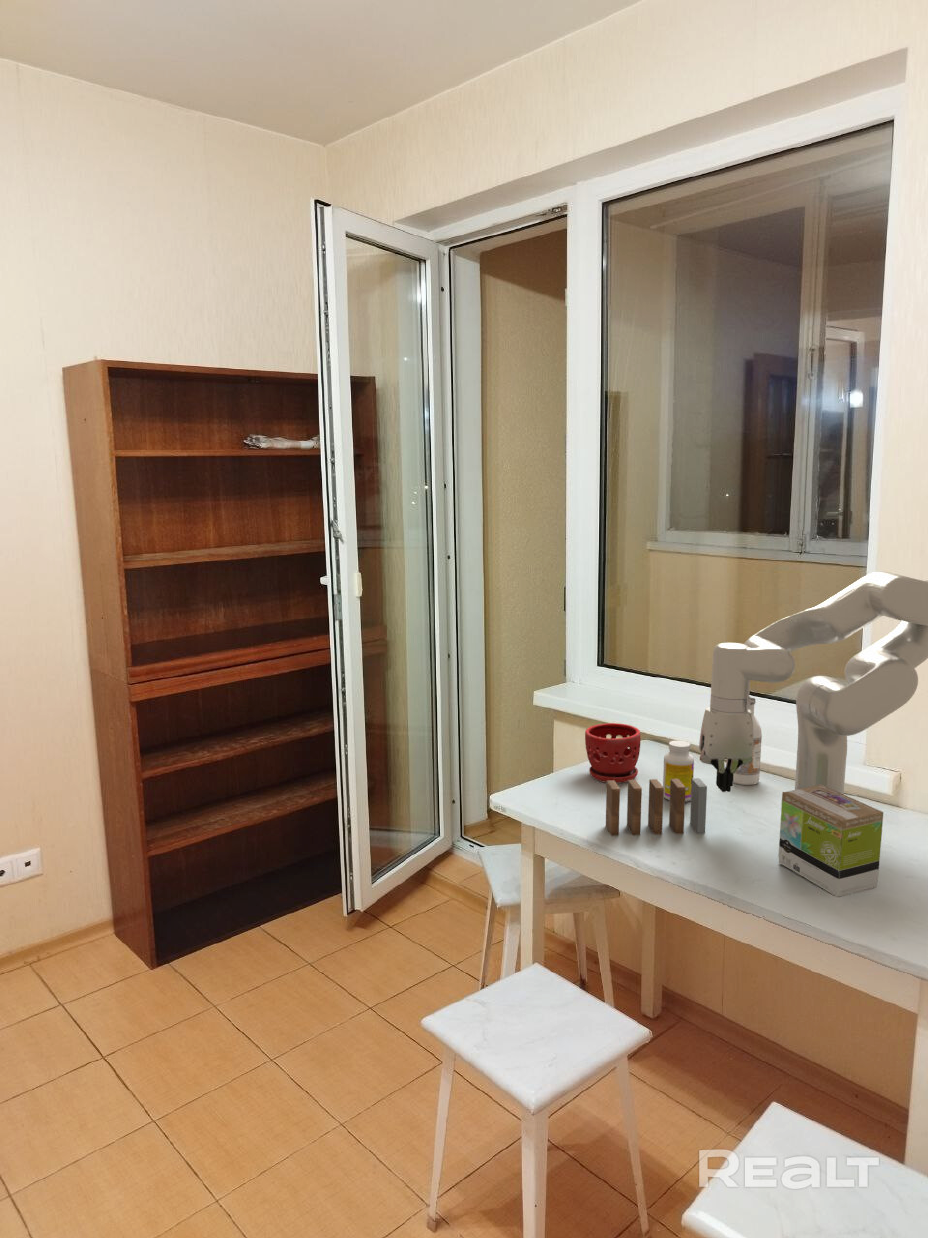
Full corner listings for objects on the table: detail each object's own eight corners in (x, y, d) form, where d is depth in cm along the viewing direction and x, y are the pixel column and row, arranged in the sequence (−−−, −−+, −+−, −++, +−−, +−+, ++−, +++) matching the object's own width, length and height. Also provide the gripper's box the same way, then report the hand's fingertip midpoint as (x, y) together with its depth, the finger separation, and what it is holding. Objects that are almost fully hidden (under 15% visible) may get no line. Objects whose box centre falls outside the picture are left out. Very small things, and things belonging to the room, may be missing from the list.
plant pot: (605, 765, 226) (607, 719, 224) (650, 777, 217) (651, 729, 215) (573, 777, 217) (574, 729, 215) (617, 791, 208) (619, 741, 206)
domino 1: (613, 825, 188) (614, 780, 186) (618, 835, 183) (619, 788, 181) (605, 826, 188) (606, 780, 186) (611, 835, 183) (612, 789, 181)
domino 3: (655, 824, 188) (656, 779, 187) (662, 834, 184) (663, 787, 182) (648, 824, 188) (649, 779, 187) (654, 834, 183) (655, 788, 182)
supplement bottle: (695, 803, 200) (697, 748, 198) (665, 803, 200) (667, 748, 198) (688, 792, 207) (690, 739, 205) (660, 792, 207) (661, 739, 205)
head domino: (697, 823, 189) (699, 778, 187) (705, 833, 184) (707, 786, 182) (690, 823, 189) (691, 778, 187) (697, 833, 184) (699, 787, 182)
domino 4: (676, 824, 189) (678, 778, 187) (683, 833, 184) (685, 787, 182) (669, 824, 189) (670, 778, 187) (676, 833, 184) (677, 787, 182)
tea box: (775, 864, 170) (780, 790, 167) (816, 855, 174) (821, 782, 171) (837, 899, 156) (842, 818, 153) (879, 888, 160) (885, 809, 157)
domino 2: (634, 825, 188) (635, 779, 187) (640, 835, 183) (641, 788, 182) (626, 825, 188) (628, 780, 186) (632, 835, 183) (633, 788, 181)
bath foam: (750, 788, 209) (754, 705, 206) (723, 780, 214) (727, 699, 211) (764, 780, 214) (768, 699, 211) (738, 773, 219) (741, 694, 216)
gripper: (758, 698, 186) (752, 783, 190) (687, 699, 186) (683, 783, 189) (772, 708, 179) (766, 795, 182) (699, 709, 178) (694, 796, 181)
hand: (724, 789), depth 185 cm, fingers closed
